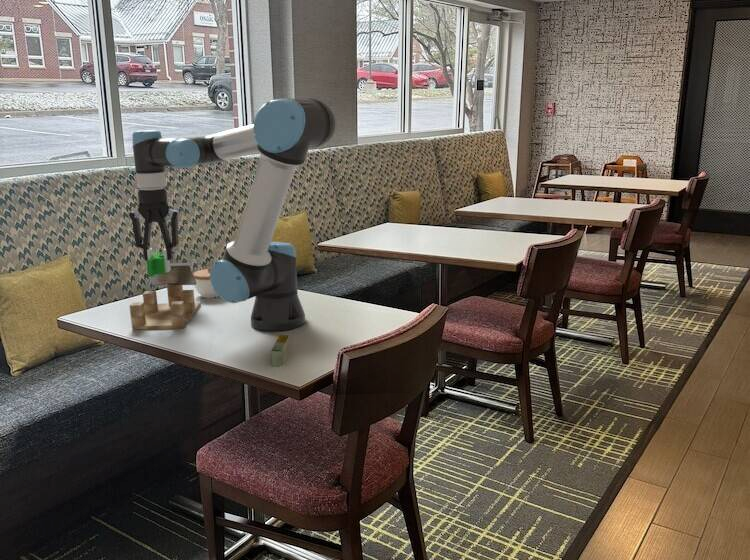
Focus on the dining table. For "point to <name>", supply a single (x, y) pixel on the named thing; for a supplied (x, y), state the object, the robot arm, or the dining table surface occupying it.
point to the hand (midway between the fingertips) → (160, 271)
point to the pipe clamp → (156, 265)
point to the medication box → (280, 350)
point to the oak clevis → (164, 310)
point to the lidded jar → (204, 283)
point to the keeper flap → (175, 276)
